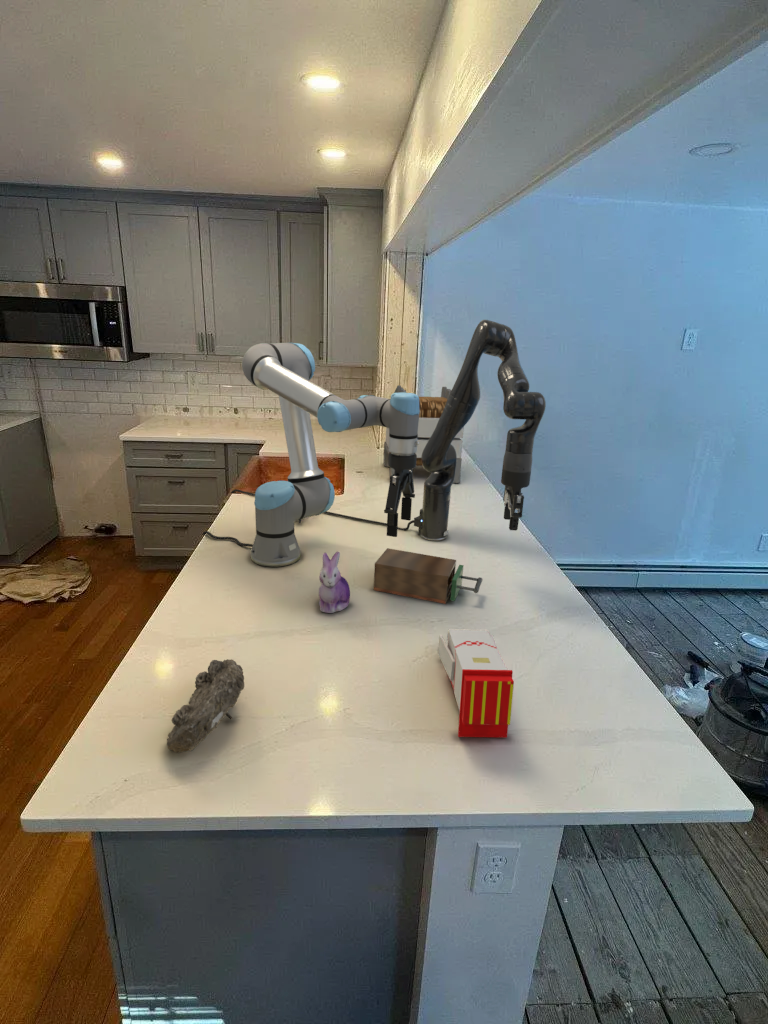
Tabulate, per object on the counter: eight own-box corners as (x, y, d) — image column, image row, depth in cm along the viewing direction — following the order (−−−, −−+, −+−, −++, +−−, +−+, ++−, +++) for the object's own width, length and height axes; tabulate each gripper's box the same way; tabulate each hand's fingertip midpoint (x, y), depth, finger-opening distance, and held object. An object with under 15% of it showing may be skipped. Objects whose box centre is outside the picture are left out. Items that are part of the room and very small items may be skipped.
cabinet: (453, 585, 164) (456, 559, 161) (445, 603, 154) (448, 576, 151) (385, 573, 170) (387, 548, 167) (373, 590, 159) (374, 563, 157)
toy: (488, 613, 130) (523, 677, 101) (484, 667, 133) (517, 744, 104) (435, 612, 130) (455, 676, 101) (432, 666, 133) (451, 743, 103)
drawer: (482, 588, 161) (484, 568, 159) (476, 605, 152) (478, 584, 150) (396, 573, 168) (398, 554, 166) (386, 588, 159) (387, 567, 156)
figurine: (324, 618, 144) (324, 564, 139) (310, 599, 152) (310, 548, 147) (358, 610, 148) (359, 558, 143) (342, 593, 156) (343, 543, 151)
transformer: (382, 463, 289) (386, 382, 275) (445, 464, 293) (451, 384, 279) (390, 482, 257) (394, 392, 243) (460, 483, 261) (468, 394, 247)
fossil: (192, 660, 117) (244, 628, 112) (224, 691, 120) (276, 661, 115) (142, 746, 98) (202, 712, 93) (182, 779, 101) (242, 748, 96)
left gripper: (403, 465, 138) (399, 545, 145) (427, 444, 160) (423, 515, 167) (374, 461, 140) (371, 541, 147) (402, 442, 162) (398, 511, 169)
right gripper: (537, 475, 144) (529, 534, 150) (525, 461, 158) (518, 516, 163) (507, 474, 144) (500, 533, 150) (498, 460, 158) (492, 515, 163)
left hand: (399, 527), depth 157 cm, fingers open, 13 cm apart
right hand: (510, 524), depth 156 cm, fingers open, 8 cm apart
